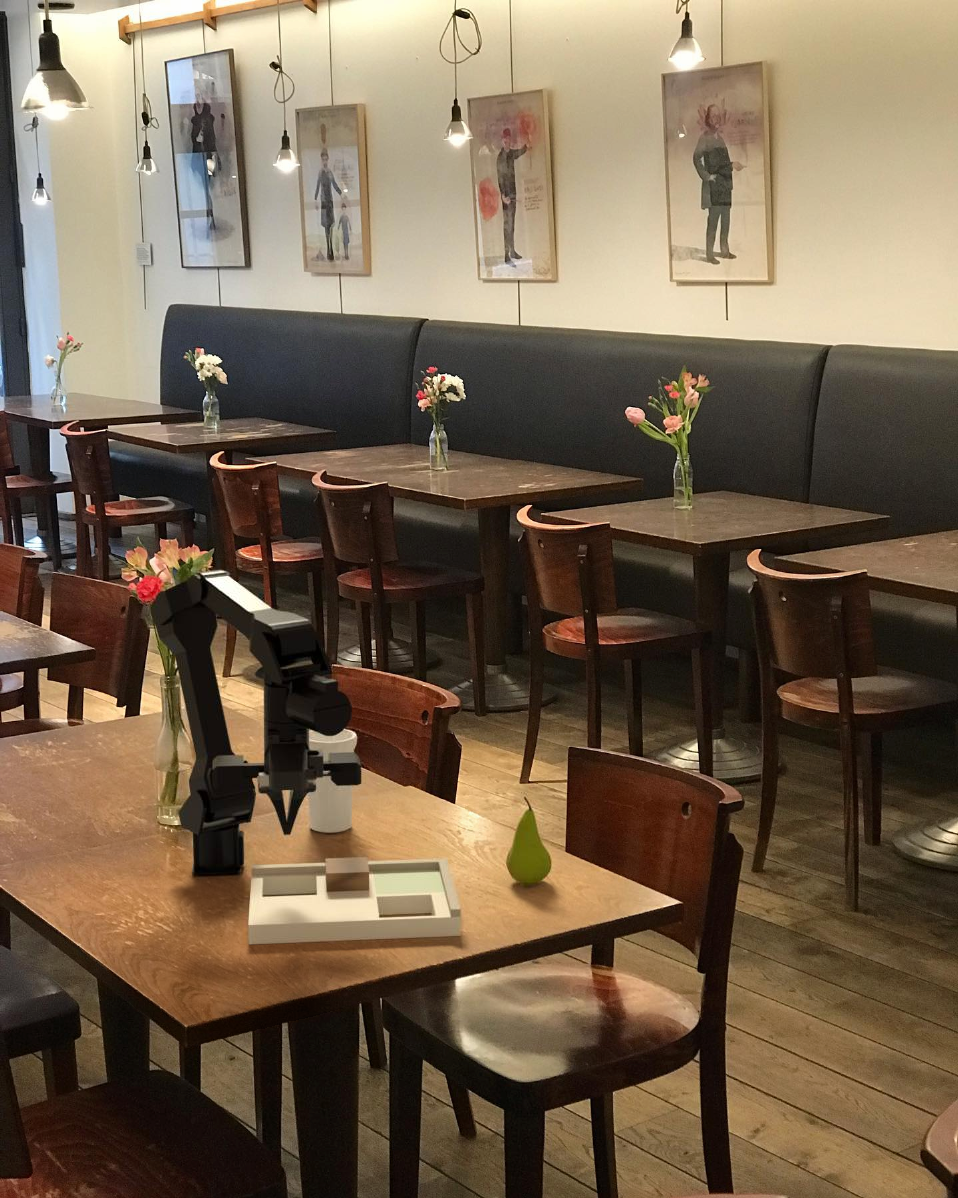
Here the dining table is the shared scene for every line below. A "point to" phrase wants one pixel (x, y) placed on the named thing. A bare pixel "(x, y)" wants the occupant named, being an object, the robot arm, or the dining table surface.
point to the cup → (331, 786)
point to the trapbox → (353, 903)
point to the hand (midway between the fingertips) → (287, 834)
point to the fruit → (528, 852)
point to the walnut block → (347, 874)
